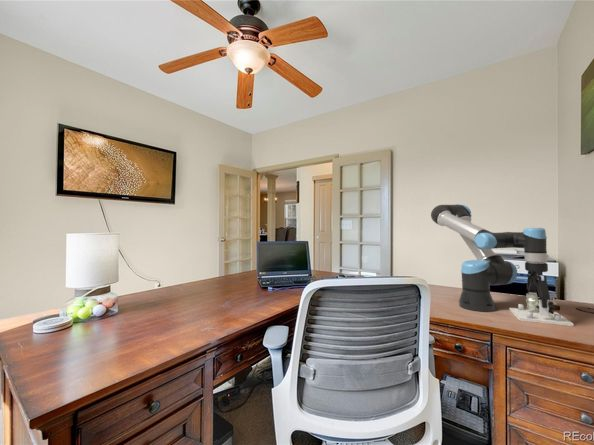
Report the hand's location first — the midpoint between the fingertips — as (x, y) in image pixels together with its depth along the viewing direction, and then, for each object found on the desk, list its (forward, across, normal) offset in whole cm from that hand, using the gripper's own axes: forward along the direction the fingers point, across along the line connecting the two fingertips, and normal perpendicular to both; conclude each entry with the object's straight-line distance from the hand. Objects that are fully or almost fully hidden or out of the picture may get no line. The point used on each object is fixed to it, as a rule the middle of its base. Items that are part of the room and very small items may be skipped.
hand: (538, 310), depth 116 cm
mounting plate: (+3, 0, 0) cm, 3 cm away
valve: (+1, 0, 0) cm, 1 cm away
